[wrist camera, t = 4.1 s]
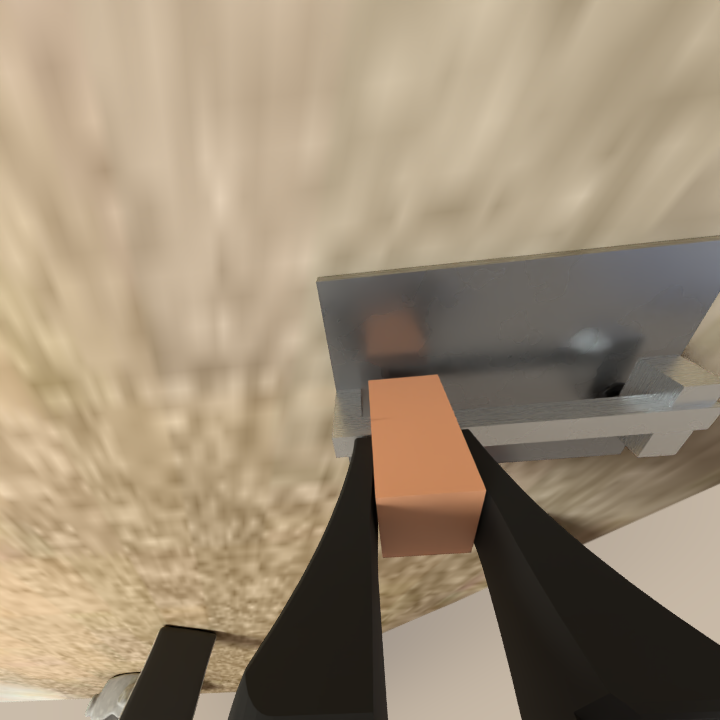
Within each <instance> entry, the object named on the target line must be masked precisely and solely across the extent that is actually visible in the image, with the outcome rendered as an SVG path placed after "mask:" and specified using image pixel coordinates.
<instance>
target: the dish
mask: <svg viewBox="0 0 720 720" xmlns="http://www.w3.org/2000/svg"><path fill="white" fill-rule="evenodd" d="M139 675H140V673H131V674H124V675H120V676H116V677H113V678H111V679H110V680H108V681H107V683H106V685H105V686H104V688H103V690H102V692H101V693H100V694H96V695H94V696H93V698H92V700H91V701H90V703H89V705H88V708H87V710H86V714H85V716H86V717H88V716H91V720H118V719H119V717H120V715H121V713H122V710H123V708H124V706H125V704H126V702H127V700H128V698H129V696H130V693H131V691H132V689H133V687H134V685H135V683H136V681H137V679H138V677H139Z"/></svg>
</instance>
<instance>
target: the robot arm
mask: <svg viewBox="0 0 720 720" xmlns="http://www.w3.org/2000/svg"><path fill="white" fill-rule="evenodd" d="M461 431H462V433H463V436H464V438H465V441H466V443H467V445H468V448H469V450H470V453H471V455H472V457H473V460H474V462H475V464H476V467H477V469H478V472H479V474H480V476H481V479H482V481H483V483H484V486H485V488H486V494H485V498H484V502H483V506H482V510H481V514H480V518H479V522H478V526H477V531H476V535H475V539H474V544H475V547H476V549H477V552H478V555H479V558H480V561H481V564H482V567H483V571H484V574H485V578H486V581H487V585H488V588H489V592H490V595H491V599H492V603H493V606H494V610H495V614H496V618H497V621H498V625H499V629H500V633H501V637H502V641H503V644H504V648H505V652H506V656H507V660H508V664H509V668H510V672H511V676H512V680H513V684H514V689H515V693H516V697H517V702H518V706H519V710H520V714H521V718H522V720H720V645H719V644H717V643H716V642H714V641H713V640H711V639H710V638H708V637H706V636H705V635H704V634H703V633H701V632H699V631H698V630H697V629H695V628H694V627H692V626H691V625H689V624H688V623H686V622H685V621H683V620H682V619H680V618H679V617H677V616H676V615H675V614H673V613H672V612H670V611H669V610H668V609H666V608H665V607H663V606H662V605H661V604H659V603H658V602H656V601H655V600H653V599H652V598H651V597H650V596H648V595H647V594H646V593H644V592H643V591H641V590H640V589H639V588H637V587H636V586H635V585H633V584H632V583H630V582H629V581H628V580H627V579H625V578H624V577H623V576H622V575H620V574H619V573H618V572H616V571H615V570H614V569H613V568H611V567H610V566H609V565H607V564H606V563H605V562H603V561H602V560H601V559H600V558H599V557H597V556H596V555H595V554H593V553H592V552H591V551H590V550H588V549H587V548H586V547H585V546H584V545H582V544H581V543H580V542H579V541H578V540H577V539H575V538H574V537H573V536H572V535H571V534H569V533H568V532H567V531H566V530H565V529H564V528H563V527H561V526H560V525H559V524H558V523H557V522H556V521H555V520H554V519H552V518H551V517H550V516H549V515H548V514H547V513H546V512H545V511H544V510H543V509H542V508H541V507H540V506H539V505H537V504H536V503H535V502H534V501H533V500H532V499H531V498H530V497H529V496H528V495H527V494H526V493H525V492H524V491H523V490H522V489H521V488H520V487H519V486H518V485H517V484H516V482H515V481H514V480H513V479H512V478H511V477H510V476H509V475H508V474H507V473H506V472H505V471H504V470H503V469H502V467H501V466H500V465H499V464H498V463H497V462H496V461H495V460H494V458H493V457H492V456H491V455H490V454H489V453H488V452H487V450H486V449H485V448H484V447H483V446H482V444H481V443H480V442H479V441H478V440H477V438H476V437H475V436H474V435H473V433H472V432H471V431H470V430H469V429H462V430H461ZM228 720H388V714H387V702H386V686H385V672H384V657H383V642H382V627H381V612H380V596H379V581H378V514H377V506H376V497H375V481H374V465H373V449H372V437H362V438H356V439H355V440H354V448H353V453H352V457H351V461H350V465H349V468H348V472H347V475H346V478H345V481H344V484H343V487H342V490H341V493H340V496H339V498H338V501H337V503H336V506H335V508H334V511H333V514H332V516H331V518H330V521H329V523H328V525H327V528H326V530H325V532H324V534H323V536H322V538H321V541H320V543H319V545H318V547H317V549H316V551H315V553H314V555H313V557H312V559H311V561H310V563H309V565H308V566H307V568H306V570H305V572H304V574H303V576H302V578H301V579H300V581H299V583H298V585H297V587H296V588H295V590H294V592H293V593H292V595H291V597H290V599H289V600H288V602H287V604H286V605H285V607H284V609H283V610H282V612H281V614H280V616H279V617H278V619H277V620H276V622H275V624H274V625H273V627H272V628H271V630H270V632H269V633H268V635H267V636H266V638H265V639H264V641H263V642H262V644H261V645H260V647H259V648H258V650H257V652H256V653H255V655H254V656H253V658H252V659H251V661H250V662H249V664H248V665H247V667H246V669H245V671H244V674H243V676H242V679H241V681H240V684H239V687H238V689H237V692H236V695H235V698H234V701H233V705H232V708H231V711H230V714H229V717H228Z"/></svg>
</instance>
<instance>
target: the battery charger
mask: <svg viewBox="0 0 720 720" xmlns="http://www.w3.org/2000/svg"><path fill="white" fill-rule="evenodd" d="M216 637H217V636H216V634H213V633H209V632H205V631H199V630H192V629H184V628H174V627H162V628H160V629H159V631H158V633H157V636H156V638H155V641H154V643H153V646H152V648H151V650H150V653H149V655H148V657H147V660H146V662H145V664H144V666H143V668H142V671H141V673H140V675H139V677H138V679H137V681H136V683H135V685H134V687H133V689H132V691H131V693H130V696H129V698H128V700H127V702H126V704H125V706H124V708H123V710H122V713H121V715H120V717H119V719H118V720H193V717H194V714H195V710H196V707H197V703H198V699H199V696H200V692H201V688H202V684H203V680H204V677H205V673H206V669H207V666H208V663H209V659H210V656H211V653H212V650H213V647H214V644H215V641H216Z"/></svg>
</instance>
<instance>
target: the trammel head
mask: <svg viewBox="0 0 720 720" xmlns="http://www.w3.org/2000/svg"><path fill="white" fill-rule="evenodd" d="M368 385H369V401H370V417H371V433H372V449H373V465H374V481H375V497H376V506H377V514H378V522H379V531H380V539H381V547H382V555H383V558H388V557H404V556H421V555H437V554H454V553H470V552H471V551H472V547H473V543H474V539H475V535H476V531H477V526H478V522H479V518H480V514H481V510H482V506H483V502H484V498H485V494H486V488H485V486H484V483H483V481H482V479H481V476H480V474H479V472H478V469H477V467H476V464H475V462H474V460H473V457H472V455H471V453H470V450H469V448H468V445H467V443H466V441H465V438H464V436H463V433H462V431H461V429H460V426H459V424H458V422H457V419H456V417H455V414H454V412H453V410H452V407H451V405H450V402H449V400H448V398H447V395H446V393H445V391H444V388H443V386H442V383H441V381H440V379H439V376H438V374H437V375H426V376H414V377H403V378H391V379H380V380H369V381H368Z"/></svg>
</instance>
